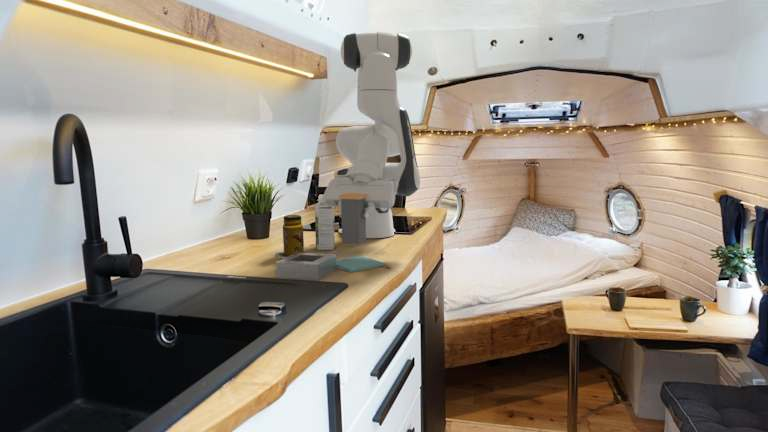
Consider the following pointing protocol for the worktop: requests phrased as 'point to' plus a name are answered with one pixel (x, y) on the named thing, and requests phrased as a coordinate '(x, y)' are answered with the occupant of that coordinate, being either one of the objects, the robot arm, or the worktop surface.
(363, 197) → the grey lidded canister
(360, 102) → the robot arm
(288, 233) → the condiment
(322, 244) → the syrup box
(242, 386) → the worktop surface
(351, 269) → the mat
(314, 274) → the collar
